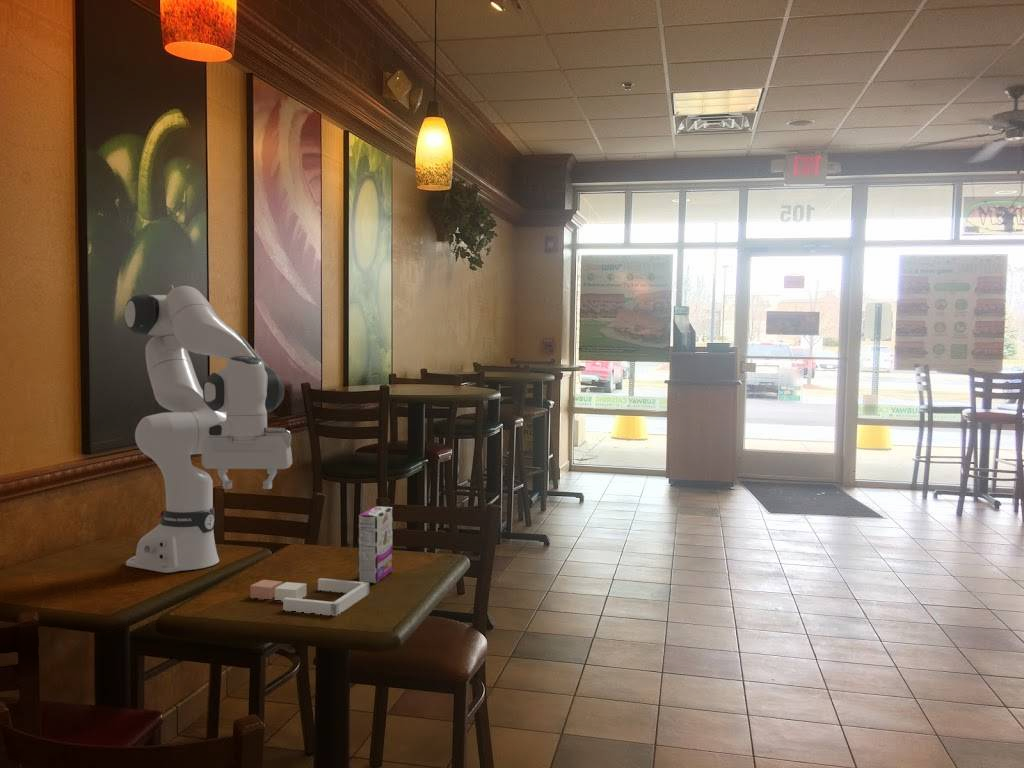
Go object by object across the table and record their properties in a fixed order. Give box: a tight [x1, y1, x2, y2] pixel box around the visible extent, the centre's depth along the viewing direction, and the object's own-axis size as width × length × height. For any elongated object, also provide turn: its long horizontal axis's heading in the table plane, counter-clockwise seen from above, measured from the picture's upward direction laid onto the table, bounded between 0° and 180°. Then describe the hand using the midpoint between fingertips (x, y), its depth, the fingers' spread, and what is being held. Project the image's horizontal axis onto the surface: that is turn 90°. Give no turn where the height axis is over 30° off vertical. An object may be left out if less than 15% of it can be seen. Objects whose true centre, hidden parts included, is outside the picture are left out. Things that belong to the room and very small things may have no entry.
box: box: [282, 577, 370, 617], centre depth 174 cm, size 12×16×2 cm
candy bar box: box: [358, 505, 394, 584], centre depth 194 cm, size 11×5×16 cm, turn 168°
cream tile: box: [274, 581, 308, 602], centre depth 176 cm, size 5×5×3 cm
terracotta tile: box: [249, 579, 284, 600], centre depth 178 cm, size 5×5×3 cm
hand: (247, 488), depth 180 cm, fingers open, 8 cm apart
